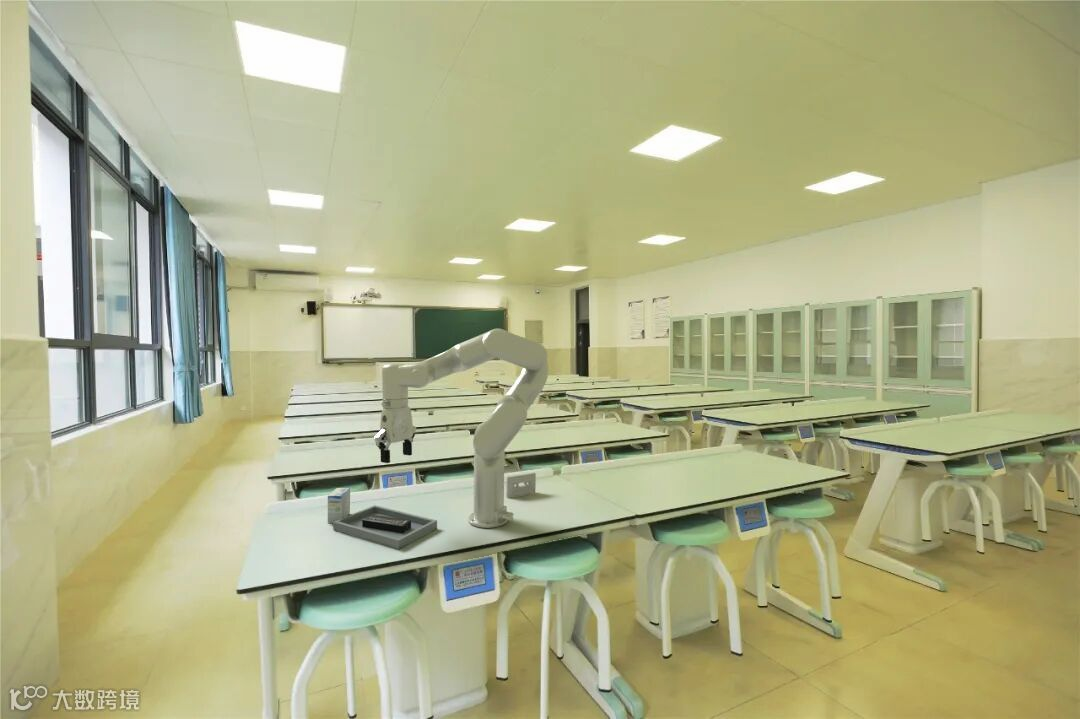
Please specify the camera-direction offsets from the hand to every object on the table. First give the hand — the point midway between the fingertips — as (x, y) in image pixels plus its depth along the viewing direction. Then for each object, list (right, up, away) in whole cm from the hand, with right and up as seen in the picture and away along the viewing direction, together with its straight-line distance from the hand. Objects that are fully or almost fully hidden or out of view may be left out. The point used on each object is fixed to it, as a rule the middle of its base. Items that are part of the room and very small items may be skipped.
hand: (396, 458), depth 145 cm
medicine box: (-19, -20, +3) cm, 28 cm away
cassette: (+37, -20, +28) cm, 51 cm away
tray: (-2, -20, -5) cm, 21 cm away
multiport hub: (-2, -20, -4) cm, 21 cm away
